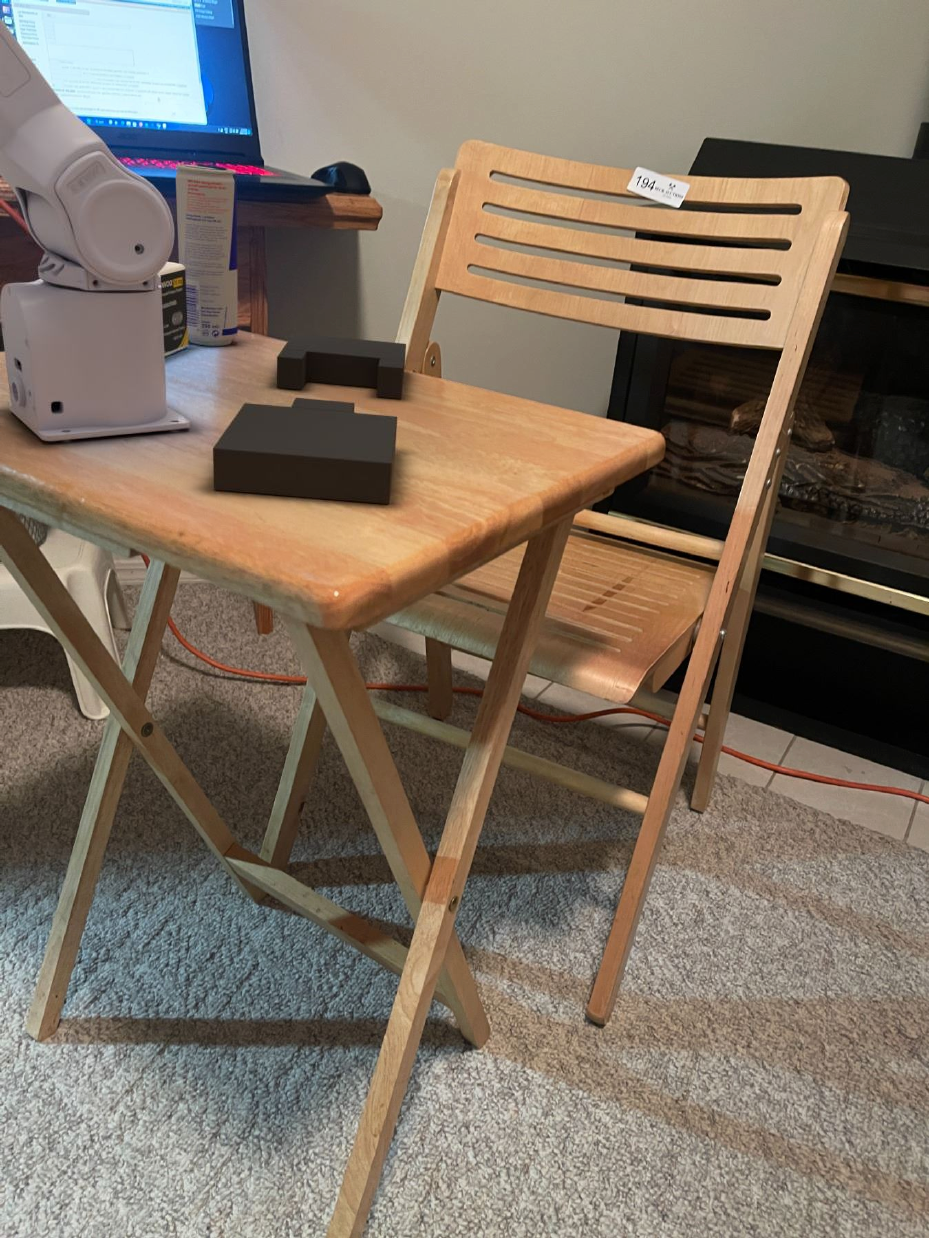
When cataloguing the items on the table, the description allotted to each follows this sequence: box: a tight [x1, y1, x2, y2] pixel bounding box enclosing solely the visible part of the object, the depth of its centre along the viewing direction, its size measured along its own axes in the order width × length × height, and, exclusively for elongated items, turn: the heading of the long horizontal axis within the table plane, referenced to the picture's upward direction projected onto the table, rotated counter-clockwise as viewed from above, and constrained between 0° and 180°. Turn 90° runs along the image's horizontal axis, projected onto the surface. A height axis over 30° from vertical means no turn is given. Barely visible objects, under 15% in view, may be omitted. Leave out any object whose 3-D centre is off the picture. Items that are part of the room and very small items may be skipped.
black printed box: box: [157, 261, 189, 358], centre depth 79 cm, size 7×7×12 cm
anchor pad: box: [276, 332, 407, 400], centre depth 79 cm, size 10×10×2 cm
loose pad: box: [212, 397, 398, 505], centre depth 59 cm, size 12×10×2 cm
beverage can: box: [175, 163, 239, 347], centre depth 85 cm, size 5×5×15 cm
